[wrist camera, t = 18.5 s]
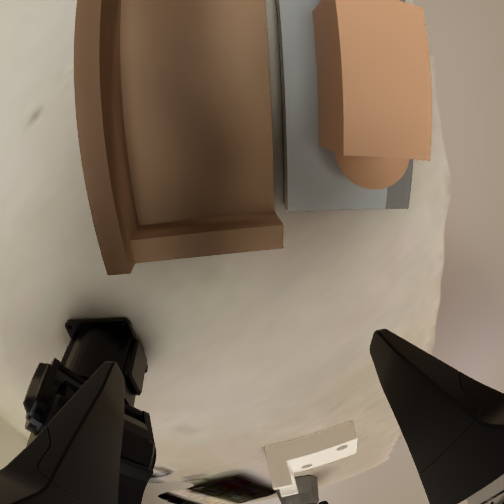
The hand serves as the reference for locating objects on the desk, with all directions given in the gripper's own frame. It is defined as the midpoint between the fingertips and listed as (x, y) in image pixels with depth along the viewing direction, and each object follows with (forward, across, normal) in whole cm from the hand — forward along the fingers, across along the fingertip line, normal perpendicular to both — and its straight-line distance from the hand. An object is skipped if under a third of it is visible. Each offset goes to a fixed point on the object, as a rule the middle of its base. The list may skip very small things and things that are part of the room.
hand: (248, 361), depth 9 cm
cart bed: (+12, +2, -10) cm, 16 cm away
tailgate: (+12, -4, -10) cm, 16 cm away
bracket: (+12, -9, +36) cm, 39 cm away
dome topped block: (+10, -8, -10) cm, 17 cm away
